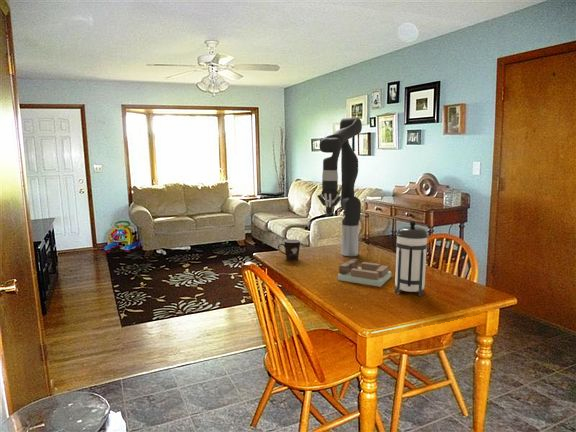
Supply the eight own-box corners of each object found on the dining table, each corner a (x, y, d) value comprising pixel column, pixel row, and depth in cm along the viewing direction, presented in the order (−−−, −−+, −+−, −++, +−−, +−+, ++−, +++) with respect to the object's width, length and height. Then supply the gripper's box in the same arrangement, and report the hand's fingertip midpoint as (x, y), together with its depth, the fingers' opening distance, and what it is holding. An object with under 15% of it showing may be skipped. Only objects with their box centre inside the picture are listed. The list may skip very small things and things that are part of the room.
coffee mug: (300, 257, 239) (300, 239, 237) (299, 261, 230) (299, 242, 229) (279, 256, 240) (279, 238, 238) (277, 260, 232) (277, 242, 230)
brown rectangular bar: (352, 265, 212) (352, 258, 212) (358, 266, 211) (359, 259, 210) (339, 273, 200) (339, 265, 199) (345, 274, 198) (345, 266, 197)
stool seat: (350, 270, 213) (351, 259, 213) (391, 276, 204) (391, 265, 203) (337, 279, 199) (338, 268, 198) (380, 286, 189) (381, 274, 188)
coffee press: (382, 288, 187) (384, 219, 182) (412, 284, 193) (415, 217, 188) (408, 301, 171) (411, 226, 166) (439, 296, 178) (444, 224, 173)
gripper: (314, 179, 212) (313, 214, 215) (338, 180, 205) (338, 216, 208) (321, 178, 219) (321, 212, 221) (345, 179, 212) (344, 214, 214)
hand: (329, 214), depth 215 cm, fingers closed
